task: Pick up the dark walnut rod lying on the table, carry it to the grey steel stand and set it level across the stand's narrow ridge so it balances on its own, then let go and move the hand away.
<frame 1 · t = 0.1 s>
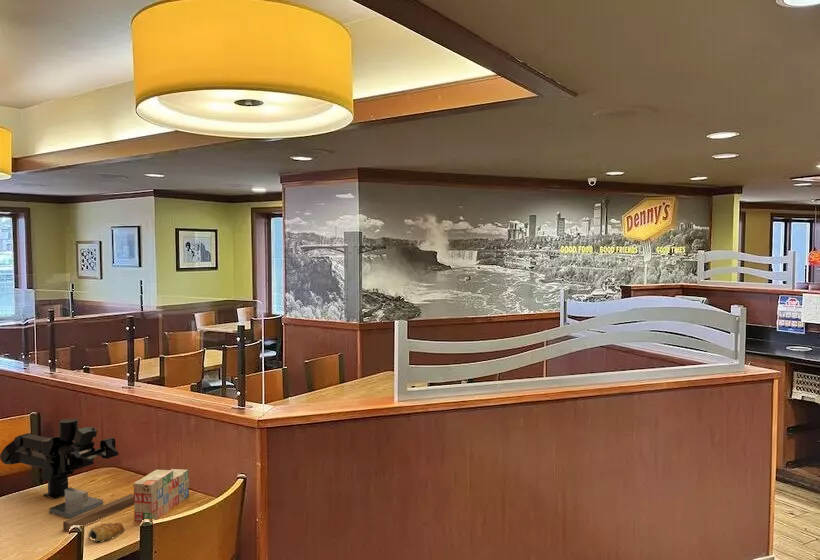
hand: (105, 458, 203), 17 cm above the table, tool horizontal, fingers open, 9 cm apart
fulcrum stand: (76, 508, 203), on the table
walnut rod: (102, 517, 198), on the table
pastry: (105, 537, 184), on the table
stack of blocks: (163, 508, 204), on the table
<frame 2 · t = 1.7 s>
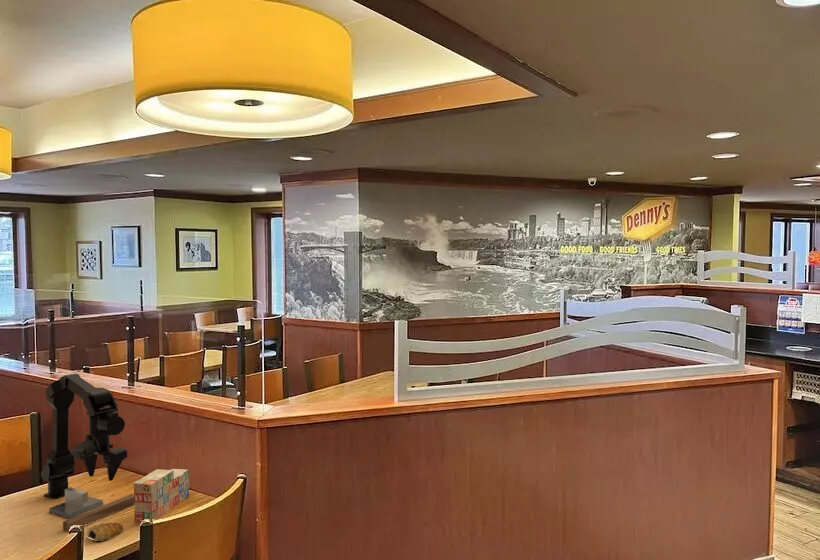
hand: (101, 478, 197), 12 cm above the table, tool pointing down, fingers open, 9 cm apart
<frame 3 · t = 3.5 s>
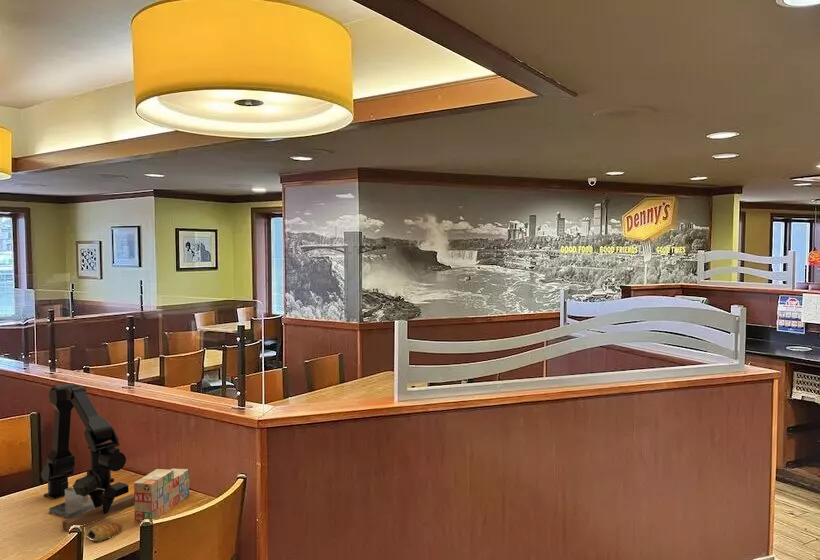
hand: (102, 512, 198), 1 cm above the table, tool pointing down, fingers closed on walnut rod, 3 cm apart
walnut rod: (102, 516, 198), on the table, touching gripper
everything else where it was.
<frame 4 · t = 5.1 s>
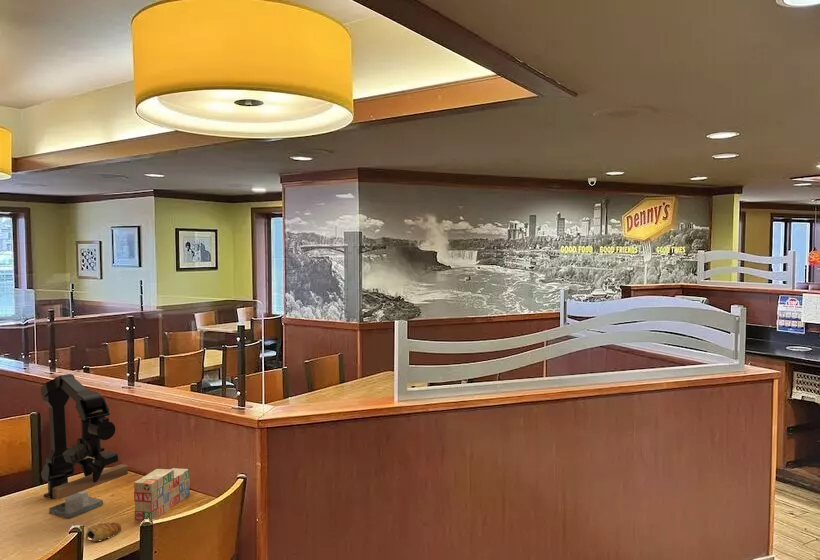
hand: (92, 481, 199), 10 cm above the table, tool pointing down, fingers closed on walnut rod, 3 cm apart
walnut rod: (92, 485, 199), point 9 cm above the table, touching gripper
everything else where it was.
when the fingers open (8 cm above the table, at t = 6.5 s): walnut rod stays where it is, resting on fulcrum stand.
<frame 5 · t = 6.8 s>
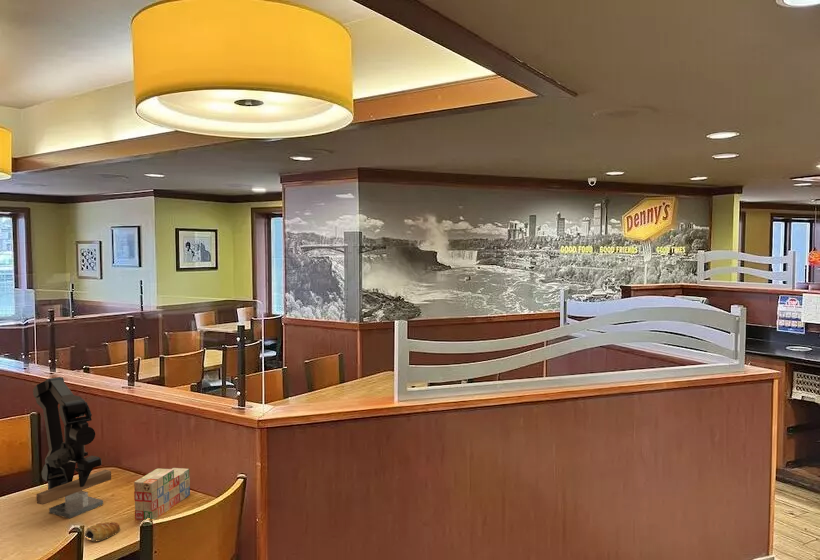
hand: (75, 485, 203), 8 cm above the table, tool pointing down, fingers open, 6 cm apart
walnut rod: (75, 490, 203), point 6 cm above the table, touching fulcrum stand
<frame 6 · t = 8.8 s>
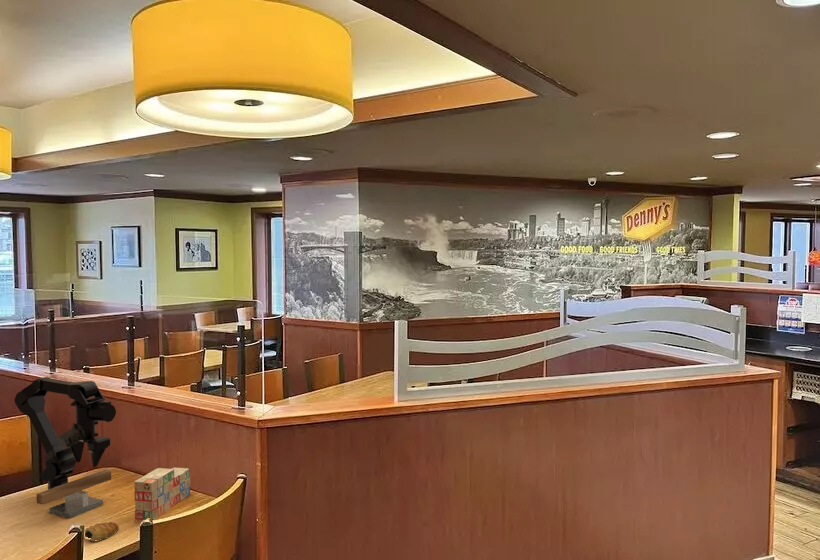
hand: (86, 464, 211), 12 cm above the table, tool pointing down, fingers open, 9 cm apart
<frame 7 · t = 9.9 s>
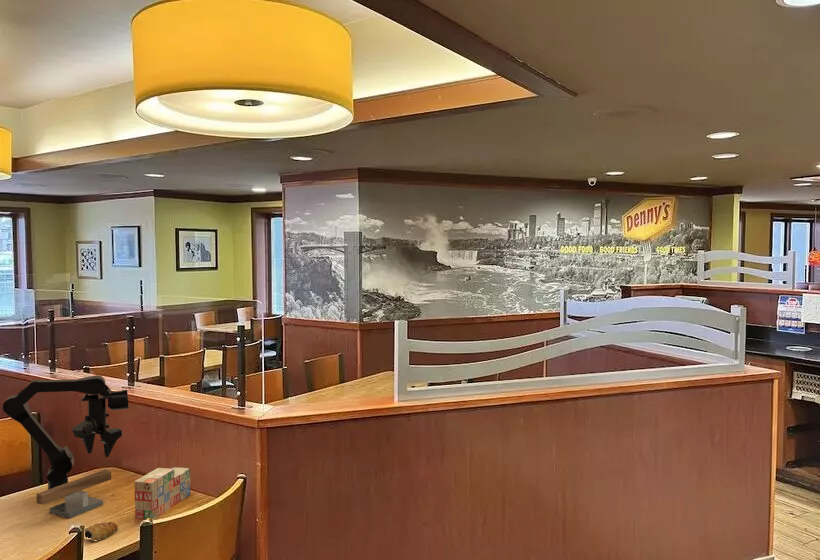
hand: (98, 455, 220), 12 cm above the table, tool pointing down, fingers open, 9 cm apart
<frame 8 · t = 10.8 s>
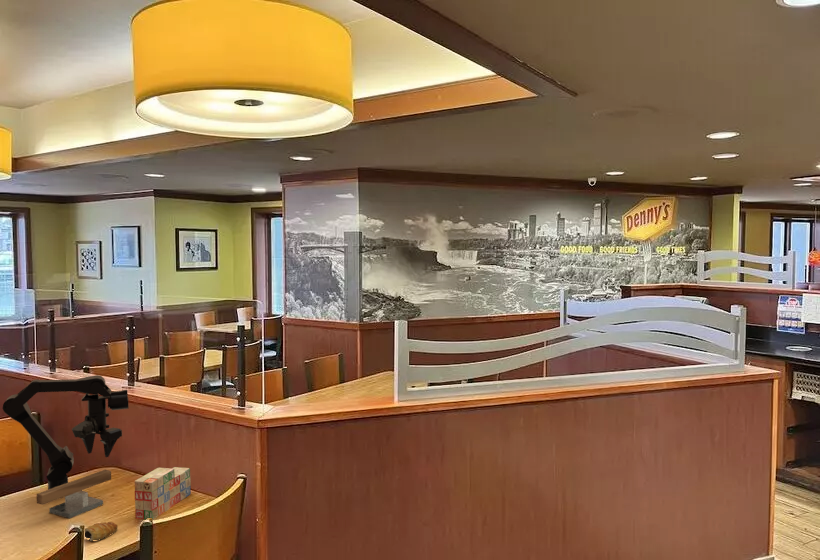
hand: (98, 455, 220), 12 cm above the table, tool pointing down, fingers open, 9 cm apart
at the end: walnut rod 0.1 cm off-centre on the fulcrum stand, point 6.0 cm above the fulcrum stand's base; walnut rod tilted 0°; walnut rod touching fulcrum stand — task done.
